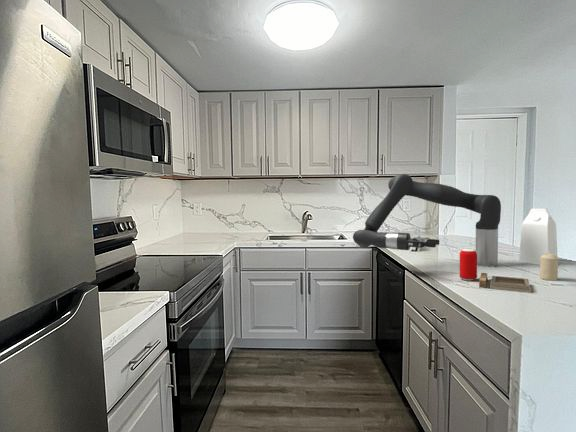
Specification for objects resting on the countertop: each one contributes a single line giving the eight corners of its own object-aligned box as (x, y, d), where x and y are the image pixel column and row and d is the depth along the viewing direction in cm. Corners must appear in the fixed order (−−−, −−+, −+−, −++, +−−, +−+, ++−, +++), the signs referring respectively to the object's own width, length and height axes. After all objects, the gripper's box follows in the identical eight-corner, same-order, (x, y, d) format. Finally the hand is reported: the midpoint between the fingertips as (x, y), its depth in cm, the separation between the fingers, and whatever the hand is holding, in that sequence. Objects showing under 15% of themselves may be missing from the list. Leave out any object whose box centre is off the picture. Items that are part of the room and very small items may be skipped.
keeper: (491, 281, 134) (491, 275, 134) (528, 284, 127) (528, 278, 127) (490, 288, 124) (490, 282, 123) (530, 292, 117) (530, 286, 117)
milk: (557, 262, 164) (558, 208, 162) (548, 265, 157) (549, 209, 155) (529, 259, 173) (529, 207, 172) (518, 262, 167) (519, 209, 165)
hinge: (406, 247, 221) (411, 232, 220) (413, 249, 221) (419, 235, 219) (410, 251, 205) (416, 235, 204) (418, 254, 204) (424, 238, 203)
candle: (540, 276, 138) (540, 252, 138) (557, 278, 135) (558, 253, 134) (539, 279, 134) (539, 254, 133) (557, 281, 131) (557, 255, 130)
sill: (481, 278, 137) (481, 272, 137) (487, 279, 136) (487, 273, 136) (479, 287, 125) (479, 280, 125) (485, 288, 124) (485, 281, 124)
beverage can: (460, 276, 141) (460, 248, 141) (477, 278, 138) (478, 249, 137) (458, 280, 136) (458, 250, 136) (475, 282, 133) (476, 251, 132)
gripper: (393, 234, 145) (434, 236, 136) (402, 231, 157) (440, 232, 148) (393, 251, 145) (434, 255, 136) (402, 247, 157) (440, 250, 148)
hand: (437, 243), depth 142 cm, fingers open, 8 cm apart
